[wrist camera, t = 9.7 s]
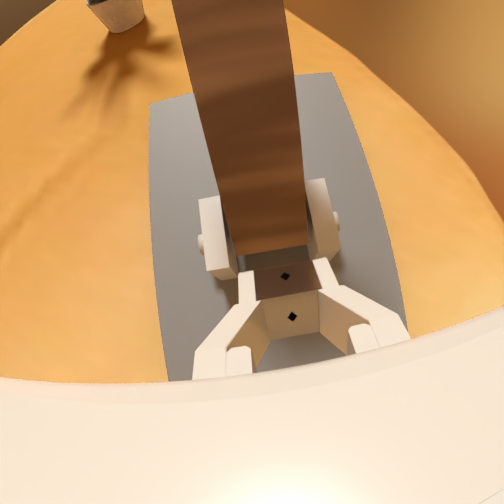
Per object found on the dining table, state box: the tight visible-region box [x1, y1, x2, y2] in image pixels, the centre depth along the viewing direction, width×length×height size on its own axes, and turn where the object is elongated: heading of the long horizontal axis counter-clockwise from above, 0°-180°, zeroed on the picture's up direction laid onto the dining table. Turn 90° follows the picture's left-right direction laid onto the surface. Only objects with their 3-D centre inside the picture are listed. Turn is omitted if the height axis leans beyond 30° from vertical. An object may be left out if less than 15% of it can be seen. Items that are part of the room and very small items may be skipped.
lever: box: [172, 0, 308, 256], centre depth 11 cm, size 3×6×19 cm
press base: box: [149, 72, 408, 382], centre depth 19 cm, size 24×16×6 cm, turn 9°
